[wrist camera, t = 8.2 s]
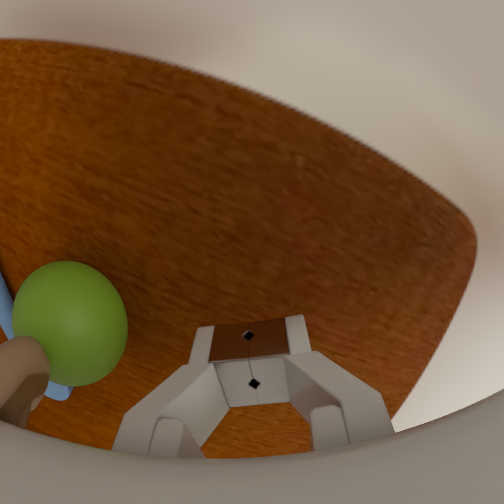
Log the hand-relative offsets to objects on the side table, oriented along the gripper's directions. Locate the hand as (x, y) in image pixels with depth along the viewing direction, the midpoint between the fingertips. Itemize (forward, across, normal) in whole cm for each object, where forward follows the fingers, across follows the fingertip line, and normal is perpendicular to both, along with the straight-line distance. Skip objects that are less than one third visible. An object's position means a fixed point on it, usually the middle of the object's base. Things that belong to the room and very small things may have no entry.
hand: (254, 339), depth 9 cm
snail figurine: (+5, +8, 0) cm, 9 cm away
